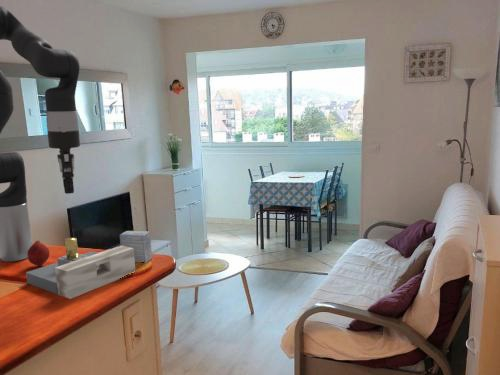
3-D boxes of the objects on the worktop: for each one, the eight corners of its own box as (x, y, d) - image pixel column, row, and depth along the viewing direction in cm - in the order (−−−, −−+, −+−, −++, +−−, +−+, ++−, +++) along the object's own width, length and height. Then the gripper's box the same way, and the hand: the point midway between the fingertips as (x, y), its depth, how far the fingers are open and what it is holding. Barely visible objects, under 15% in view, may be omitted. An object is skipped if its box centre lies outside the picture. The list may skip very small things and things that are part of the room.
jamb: (58, 294, 104) (54, 267, 102) (123, 269, 120) (121, 245, 119) (69, 299, 101) (66, 271, 100) (135, 272, 117) (133, 248, 116)
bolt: (62, 263, 116) (59, 239, 115) (71, 260, 119) (69, 236, 118) (86, 270, 110) (83, 244, 109) (95, 267, 113) (93, 241, 111)
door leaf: (27, 283, 112) (24, 264, 111) (92, 260, 128) (91, 244, 127) (57, 294, 104) (54, 274, 103) (122, 268, 120) (121, 251, 119)
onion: (41, 270, 121) (38, 243, 120) (24, 269, 122) (20, 243, 121) (54, 263, 127) (51, 237, 126) (38, 262, 128) (34, 237, 127)
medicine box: (152, 258, 128) (150, 231, 127) (146, 263, 124) (143, 235, 122) (128, 257, 130) (126, 230, 128) (121, 262, 125) (119, 234, 124)
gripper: (47, 128, 114) (53, 187, 117) (47, 131, 102) (53, 196, 105) (77, 127, 117) (81, 184, 120) (80, 130, 105) (85, 193, 108)
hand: (68, 190), depth 113 cm, fingers open, 8 cm apart
